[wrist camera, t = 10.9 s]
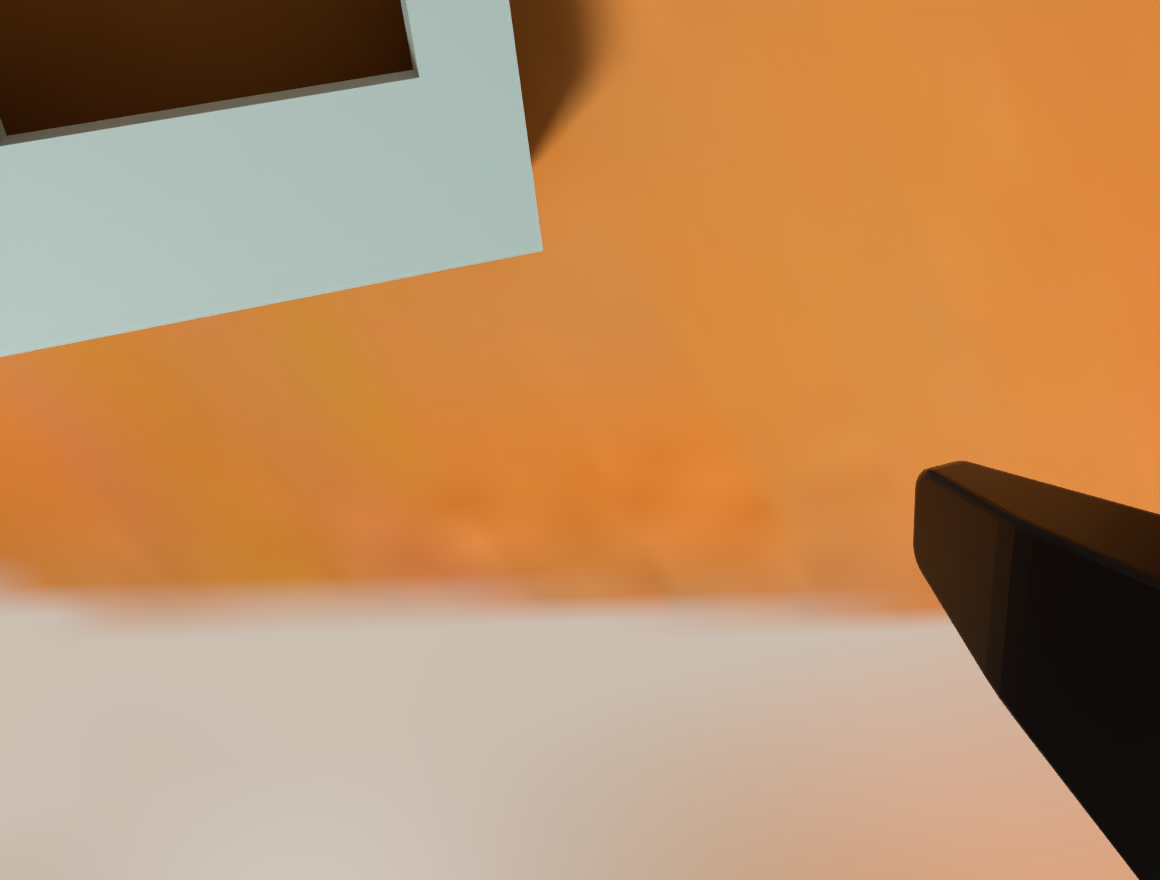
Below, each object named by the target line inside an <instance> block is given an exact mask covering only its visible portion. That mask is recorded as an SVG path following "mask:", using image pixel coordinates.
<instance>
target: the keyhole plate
mask: <svg viewBox="0 0 1160 880" xmlns="http://www.w3.org/2000/svg"><path fill="white" fill-rule="evenodd" d="M401 6H402V11H403V17H404V22H405V28H406V34H407V39H408V45H409V50H410V56H411V61H412V67H413V70H408V71H402V72H396V73H390V74H383V75H377V76H371V77H365V78H359V79H353V80H347V81H340V82H334V83H328V84H322V85H316V86H310V87H304V88H297V89H291V90H285V91H279V92H273V93H267V94H260V95H254V96H248V97H242V98H236V99H230V100H224V101H217V102H211V103H205V104H199V105H193V106H187V107H181V108H174V109H168V110H162V111H156V112H150V113H144V114H138V115H131V116H125V117H119V118H113V119H107V120H101V121H95V122H88V123H82V124H76V125H70V126H64V127H58V128H52V129H45V130H39V131H33V132H27V133H21V134H15V135H9V136H7V135H6V132H5V129H4V127H3V124H2V121H1V118H0V357H3V356H8V355H13V354H18V353H23V352H28V351H33V350H39V349H44V348H49V347H54V346H59V345H64V344H69V343H74V342H79V341H85V340H90V339H95V338H100V337H105V336H110V335H115V334H120V333H125V332H130V331H136V330H141V329H146V328H151V327H156V326H161V325H166V324H171V323H176V322H182V321H187V320H192V319H197V318H202V317H207V316H212V315H217V314H222V313H228V312H233V311H238V310H243V309H248V308H253V307H258V306H263V305H268V304H273V303H279V302H284V301H289V300H294V299H299V298H304V297H309V296H314V295H319V294H325V293H330V292H335V291H340V290H345V289H350V288H355V287H360V286H365V285H371V284H376V283H381V282H386V281H391V280H396V279H401V278H406V277H411V276H416V275H422V274H427V273H432V272H437V271H442V270H447V269H452V268H457V267H462V266H468V265H473V264H478V263H483V262H488V261H493V260H498V259H503V258H508V257H514V256H519V255H524V254H529V253H534V252H539V251H543V247H542V240H541V232H540V225H539V218H538V210H537V203H536V195H535V188H534V181H533V173H532V166H531V159H530V151H529V144H528V136H527V129H526V122H525V114H524V107H523V100H522V92H521V85H520V78H519V70H518V63H517V55H516V48H515V41H514V33H513V26H512V19H511V11H510V4H509V0H401Z"/></svg>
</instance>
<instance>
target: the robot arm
mask: <svg viewBox="0 0 1160 880" xmlns="http://www.w3.org/2000/svg"><path fill="white" fill-rule="evenodd" d="M913 548H914V554H915V558H916V561H917V564H918V566H919V568H920V570H921V572H922V574H923V576H924V577H925V579H926V580H927V582H928V584H929V585H930V587H931V589H932V590H933V592H934V594H935V595H936V597H937V599H938V600H939V602H940V603H941V605H942V607H943V608H944V610H945V612H946V613H947V615H948V617H949V618H950V620H951V621H952V623H953V625H954V626H955V628H956V630H957V631H958V633H959V635H960V636H961V638H962V639H963V641H964V643H965V644H966V646H967V648H968V649H969V651H970V653H971V654H972V656H973V657H974V659H975V661H976V662H977V664H978V665H979V667H980V669H981V670H982V672H983V674H984V675H985V677H986V679H987V680H988V682H989V683H990V685H991V686H992V688H993V689H994V691H995V692H996V694H997V695H998V697H999V698H1000V700H1001V701H1002V702H1003V704H1004V705H1005V706H1006V708H1007V709H1008V710H1009V712H1010V713H1011V715H1012V716H1013V717H1014V718H1015V720H1016V721H1017V722H1018V724H1019V725H1020V726H1021V728H1022V729H1023V730H1024V731H1025V733H1026V734H1027V735H1028V737H1029V738H1030V739H1031V741H1032V742H1033V743H1034V744H1035V746H1036V747H1037V748H1038V750H1039V751H1040V752H1041V753H1042V755H1043V756H1044V757H1045V758H1046V760H1047V761H1048V762H1049V764H1050V765H1051V766H1052V768H1053V769H1054V770H1055V771H1056V773H1057V774H1058V775H1059V777H1060V778H1061V779H1062V780H1063V782H1064V783H1065V785H1066V786H1067V787H1068V788H1069V790H1070V791H1071V792H1072V794H1073V795H1074V796H1075V797H1076V799H1077V800H1078V801H1079V802H1080V804H1081V805H1082V807H1083V808H1084V809H1085V810H1086V812H1087V813H1088V814H1089V816H1090V817H1091V818H1092V819H1093V821H1094V822H1095V823H1096V825H1097V826H1098V827H1099V828H1100V830H1101V831H1102V832H1103V834H1104V835H1105V836H1106V838H1107V839H1108V840H1109V841H1110V843H1111V844H1112V845H1113V847H1114V848H1115V849H1116V850H1117V852H1118V853H1119V854H1120V855H1121V857H1122V858H1123V859H1124V861H1125V862H1126V863H1127V865H1128V866H1129V867H1130V869H1131V870H1132V871H1133V872H1134V874H1135V875H1136V876H1137V878H1138V879H1139V880H1160V514H1156V513H1153V512H1149V511H1145V510H1142V509H1138V508H1134V507H1131V506H1127V505H1123V504H1120V503H1116V502H1113V501H1109V500H1105V499H1102V498H1098V497H1094V496H1091V495H1087V494H1083V493H1080V492H1076V491H1073V490H1069V489H1065V488H1062V487H1058V486H1054V485H1051V484H1047V483H1043V482H1040V481H1036V480H1033V479H1029V478H1025V477H1022V476H1018V475H1014V474H1011V473H1007V472H1003V471H1000V470H996V469H993V468H989V467H985V466H982V465H978V464H974V463H971V462H967V461H955V462H951V463H947V464H944V465H940V466H936V467H932V468H928V469H925V470H923V471H922V472H921V473H920V475H919V476H918V478H917V481H916V487H915V508H914V534H913Z"/></svg>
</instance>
